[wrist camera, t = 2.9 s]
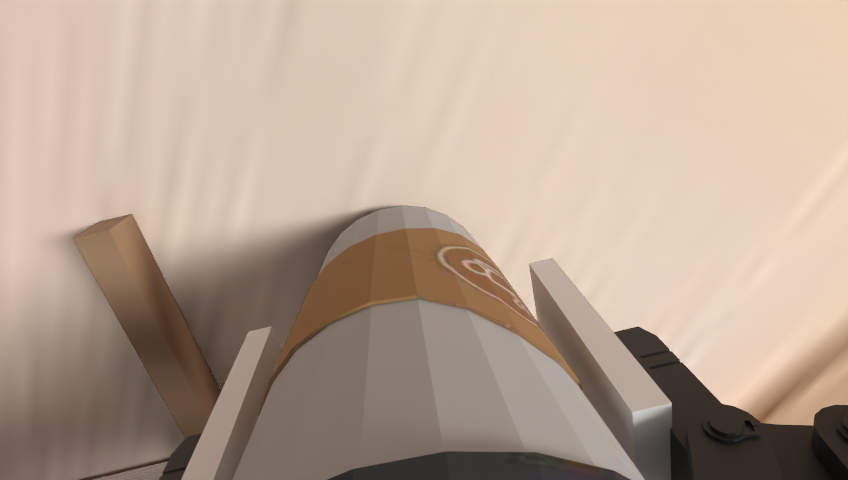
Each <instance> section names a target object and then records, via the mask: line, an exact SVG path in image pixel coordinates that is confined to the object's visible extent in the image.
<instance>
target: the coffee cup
mask: <svg viewBox="0 0 848 480" xmlns="http://www.w3.org/2000/svg"><path fill="white" fill-rule="evenodd" d="M232 480H645V479H644V478H643V476H642V475H641V473H640V472H639V471H638V469H637V468H636V466H635V465H634V463H633V462H632V461H631V459H630V458H629V456H628V455H627V454H626V452H625V451H624V449H623V448H622V447H621V445H620V444H619V442H618V441H617V439H616V438H615V437H614V435H613V434H612V432H611V431H610V430H609V428H608V427H607V425H606V424H605V423H604V421H603V420H602V418H601V417H600V415H599V414H598V413H597V411H596V410H595V408H594V407H593V406H592V404H591V403H590V401H589V400H588V398H587V397H586V396H585V394H584V393H583V389H582V383H581V381H580V380H579V379H578V377H577V376H576V374H575V373H574V372H573V370H572V369H571V368H570V366H569V365H568V363H567V362H566V361H565V359H564V358H563V357H562V355H561V354H560V352H559V351H558V350H557V348H556V347H555V346H554V344H553V343H552V341H551V340H550V339H549V337H548V336H547V335H546V333H545V332H544V330H543V329H542V328H541V326H540V325H539V324H538V322H537V321H536V319H535V318H534V317H533V315H532V314H531V313H530V311H529V310H528V308H527V307H526V306H525V304H524V303H523V302H522V300H521V299H520V297H519V296H518V295H517V293H516V292H515V291H514V289H513V288H512V286H511V285H510V284H509V282H508V281H507V279H506V278H505V277H504V275H503V274H502V273H501V271H500V270H499V268H498V267H497V266H496V265H495V264H494V262H493V261H492V260H491V259H490V258H489V256H488V255H487V254H486V253H485V252H484V250H483V249H482V248H481V247H480V246H479V245H478V243H477V242H476V241H475V239H474V238H473V237H472V236H471V235H470V234H469V232H468V231H467V230H466V229H465V228H464V227H463V226H462V225H460V224H459V223H457V222H456V221H454V220H453V219H452V218H450V217H449V216H447V215H445V214H443V213H440V212H437V211H434V210H431V209H428V208H425V207H414V206H397V207H391V208H386V209H380V210H377V211H375V212H373V213H371V214H368V215H366V216H364V217H362V218H360V219H358V220H356V221H355V222H354V223H353V224H351V225H350V226H349V227H348V228H347V229H345V230H344V231H343V232H342V233H341V234H340V235H339V236H338V238H337V239H336V241H335V242H334V244H333V245H332V246H331V248H330V249H329V251H328V253H327V255H326V258H325V260H324V263H323V265H322V267H321V270H320V272H319V274H318V277H317V278H316V280H315V281H314V283H313V284H312V285H311V287H310V288H309V291H308V293H307V295H306V298H305V300H304V302H303V304H302V307H301V309H300V311H299V314H298V316H297V318H296V320H295V323H294V325H293V327H292V330H291V332H290V334H289V336H288V339H287V341H286V343H285V346H284V348H283V350H282V352H281V355H280V357H279V359H278V362H277V364H276V366H275V368H274V371H273V373H272V375H271V377H270V380H269V383H268V386H267V389H266V392H265V395H264V398H263V401H262V405H261V408H260V411H259V414H258V420H257V422H256V424H255V427H254V429H253V431H252V434H251V436H250V439H249V441H248V443H247V446H246V448H245V451H244V453H243V455H242V458H241V460H240V462H239V465H238V467H237V470H236V472H235V474H234V477H233V479H232Z"/></svg>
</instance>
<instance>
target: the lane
mask: <svg viewBox="0 0 848 480" xmlns="http://www.w3.org/2000/svg"><path fill="white" fill-rule="evenodd" d="M73 240H74V242H75V244H76V246H77V247H78V249H79V251H80V253H81V254H82V256H83V258H84V260H85V262H86V263H87V265H88V267H89V269H90V270H91V272H92V274H93V276H94V278H95V279H96V281H97V283H98V285H99V286H100V288H101V290H102V292H103V293H104V295H105V297H106V299H107V301H108V302H109V304H110V306H111V308H112V309H113V311H114V313H115V315H116V317H117V318H118V320H119V322H120V324H121V325H122V327H123V329H124V331H125V332H126V334H127V336H128V338H129V340H130V341H131V343H132V345H133V347H134V348H135V350H136V352H137V354H138V356H139V357H140V359H141V361H142V363H143V364H144V366H145V368H146V370H147V371H148V373H149V375H150V377H151V379H152V380H153V382H154V384H155V386H156V387H157V389H158V391H159V393H160V395H161V396H162V398H163V400H164V402H165V403H166V405H167V407H168V409H169V410H170V412H171V414H172V416H173V418H174V419H175V421H176V423H177V425H178V426H179V428H180V430H181V432H182V434H183V435H184V437H185V439H186V438H187V437H188V436H192V435H196V434H201V433H203V430H204V428H205V426H206V424H207V422H208V419H209V417H210V415H211V413H212V411H213V408H214V406H215V404H216V402H217V400H218V397H219V395H220V393H221V392H220V390H219V388H218V386H217V384H216V382H215V380H214V378H213V376H212V374H211V372H210V370H209V368H208V366H207V363H206V361H205V359H204V357H203V355H202V353H201V351H200V349H199V347H198V345H197V343H196V341H195V339H194V337H193V335H192V333H191V331H190V329H189V327H188V325H187V323H186V321H185V319H184V317H183V315H182V313H181V311H180V309H179V307H178V305H177V303H176V301H175V299H174V297H173V295H172V293H171V291H170V289H169V287H168V285H167V283H166V281H165V279H164V277H163V275H162V273H161V271H160V269H159V267H158V265H157V263H156V261H155V259H154V257H153V255H152V253H151V251H150V249H149V247H148V245H147V243H146V241H145V239H144V237H143V235H142V233H141V231H140V229H139V227H138V225H137V223H136V221H135V219H134V217H133V215H132V214H130V215H126V216H122V217H118V218H114V219H109V220H105V221H101V222H98V223H97V224H95V225H94V226H92V227H91V228H89V229H87V230H86V231H84V232H83V233H81V234H79V235H78V236H76V237H75V238H73Z"/></svg>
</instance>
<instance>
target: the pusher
mask: <svg viewBox="0 0 848 480" xmlns="http://www.w3.org/2000/svg"><path fill="white" fill-rule="evenodd" d="M167 463H168V461H167V462H163V463H159V464H155V465H151V466H146V467H142V468H138V469H134V470H130V471H126V472H122V473H117V474H113V475H109V476H105V477H101V478H97V479H93V480H159V478H160V476H163V473H162V472H163V470H164V469H165V467H166V465H167Z"/></svg>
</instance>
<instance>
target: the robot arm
mask: <svg viewBox="0 0 848 480" xmlns="http://www.w3.org/2000/svg"><path fill="white" fill-rule="evenodd" d="M529 266H530V273H531V280H532V286H533V293H534V300H535V306H536V313H537V320H538V324H539V325H540V326H541V328H542V329H543V330H544V332H545V333H546V335H547V336H548V337H549V339H550V340H551V341H552V343H553V344H554V346H555V347H556V348H557V350H558V351H559V352H560V354H561V355H562V357H563V358H564V359H565V361H566V362H567V363H568V365H569V366H570V368H571V369H572V370H573V372H574V373H575V374H576V376H577V377H578V379H579V380H580V381H581V383H582V389H583V393H584V394H585V396H586V397H587V398H588V400H589V401H590V403H591V404H592V406H593V407H594V408H595V410H596V411H597V413H598V414H599V415H600V417H601V418H602V420H603V421H604V423H605V424H606V425H607V427H608V428H609V430H610V431H611V432H612V434H613V435H614V437H615V438H616V439H617V441H618V442H619V444H620V445H621V447H622V448H623V449H624V451H625V452H626V454H627V455H628V456H629V458H630V459H631V461H632V462H633V463H634V465H635V466H636V468H637V469H638V471H639V472H640V473H641V475H642V476H643V478H644V479H645V480H848V405H833V406H829V407H825V408H822V409H821V410H820V411H819V412H818V413H816V414H815V418H814V425H813V426H807V425H775V424H765V423H760V421H758V420H757V419H756V418H754V417H753V416H752V415H751V414H749V413H748V412H746V411H743V410H741V409H739V408H736V407H734V406H729V405H724V404H722V403H720V402H719V400H718V399H717V398H716V397H715V396H714V395H713V394H712V393H711V392H710V391H709V390H708V389H707V388H706V387H705V386H704V385H703V384H702V383H701V382H700V381H699V380H698V379H697V378H696V377H695V375H694V374H693V373H692V372H691V371H690V370H689V369H688V368H687V367H686V366H685V365H684V364H683V363H680V361H679V359H678V358H677V357H676V356H675V355H674V354H673V353H672V352H670V351H669V348H668V347H667V346H666V345H665V344H664V343H663V342H662V341H661V340H660V339H659V338H658V337H657V336H656V335H654V334H652V333H650V332H648V331H646V330H644V329H642V328H640V327H634V328H630V329H626V330H622V331H618V332H613V331H612V330H611V329H610V327H609V326H608V325H607V324H606V322H605V321H604V320H603V319H602V318H601V316H600V315H599V314H598V313H597V312H596V310H595V309H594V308H593V307H592V305H591V304H590V303H589V302H588V301H587V299H586V298H585V297H584V296H583V294H582V293H581V292H580V291H579V290H578V288H577V287H576V286H575V285H574V284H573V282H572V281H571V280H570V279H569V277H568V276H567V275H566V274H565V273H564V271H563V270H562V269H561V268H560V267H559V265H558V264H557V263H556V262H555V260H554V259H553V258H551V259H546V260H542V261H538V262H534V263H530V264H529ZM281 352H282V349H281V347H280V344H279V342H278V340H277V337H276V335H275V332H274V330H273V328H272V326H269V327H265V328H261V329H257V330H253V331H249V332H248V334H247V336H246V338H245V340H244V343H243V345H242V347H241V349H240V351H239V354H238V356H237V358H236V360H235V362H234V365H233V367H232V369H231V371H230V373H229V375H228V378H227V380H226V382H225V384H224V386H223V389H222V391H221V393H220V395H219V397H218V400H217V402H216V404H215V406H214V408H213V411H212V413H211V415H210V417H209V419H208V422H207V424H206V426H205V428H204V430H203V433H201V434H196V435H192V436H188V437H187V438H186V439H185V440H184V441H183V442H182V443H181V444H180V446H179V447H178V448H177V449H176V450H175V451H174V452H173V453H172V455H171V457H170V459H169V461H168V463H167V465H166V467H165V469H164V470H163V472H162V473H163V476H160V478H159V480H232V479H233V477H234V474H235V472H236V470H237V467H238V465H239V462H240V460H241V458H242V455H243V453H244V451H245V448H246V446H247V443H248V441H249V439H250V436H251V434H252V431H253V429H254V427H255V424H256V422H257V420H258V414H259V411H260V408H261V405H262V401H263V398H264V395H265V392H266V389H267V386H268V383H269V380H270V377H271V375H272V373H273V371H274V368H275V366H276V364H277V362H278V359H279V357H280V355H281Z"/></svg>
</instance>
